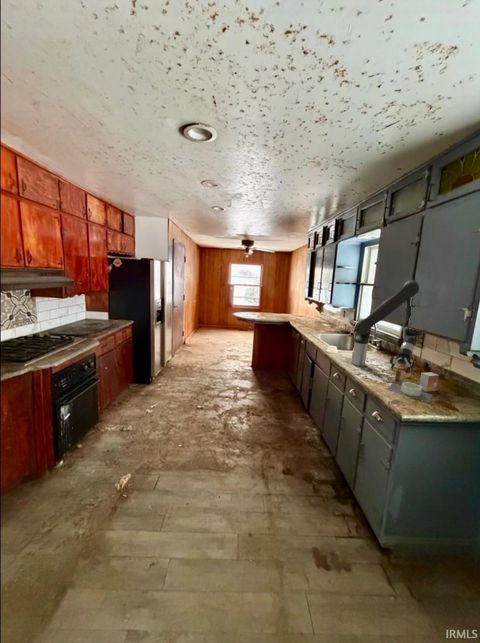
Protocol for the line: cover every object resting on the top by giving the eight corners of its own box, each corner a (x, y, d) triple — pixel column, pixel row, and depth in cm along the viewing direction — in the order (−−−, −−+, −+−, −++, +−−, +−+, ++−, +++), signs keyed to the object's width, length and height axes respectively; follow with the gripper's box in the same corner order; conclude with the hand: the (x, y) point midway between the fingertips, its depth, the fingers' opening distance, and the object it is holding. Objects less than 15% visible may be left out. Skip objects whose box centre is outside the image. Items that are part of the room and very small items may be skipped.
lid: (384, 381, 191) (386, 370, 189) (389, 377, 199) (391, 366, 198) (404, 387, 183) (406, 375, 181) (409, 382, 192) (411, 370, 190)
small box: (425, 392, 176) (428, 375, 174) (418, 388, 182) (420, 372, 180) (436, 391, 179) (439, 375, 176) (428, 387, 184) (431, 371, 182)
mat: (386, 390, 176) (386, 389, 176) (392, 384, 187) (392, 383, 186) (428, 402, 162) (428, 402, 162) (432, 395, 172) (432, 394, 172)
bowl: (399, 392, 172) (400, 385, 171) (403, 388, 180) (404, 380, 179) (418, 398, 166) (419, 390, 165) (421, 393, 173) (423, 385, 172)
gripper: (394, 345, 198) (386, 365, 192) (417, 350, 189) (411, 371, 183) (395, 351, 203) (388, 371, 197) (418, 356, 194) (411, 376, 188)
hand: (399, 371), depth 190 cm, fingers open, 8 cm apart
